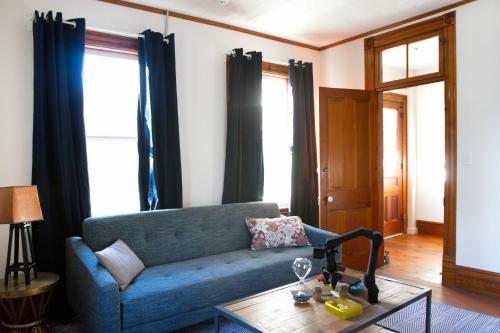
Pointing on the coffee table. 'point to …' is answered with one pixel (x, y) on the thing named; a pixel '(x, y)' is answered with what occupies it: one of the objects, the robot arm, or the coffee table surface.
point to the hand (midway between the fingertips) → (330, 286)
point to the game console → (347, 282)
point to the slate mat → (310, 292)
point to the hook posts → (318, 294)
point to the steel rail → (329, 287)
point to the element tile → (344, 308)
